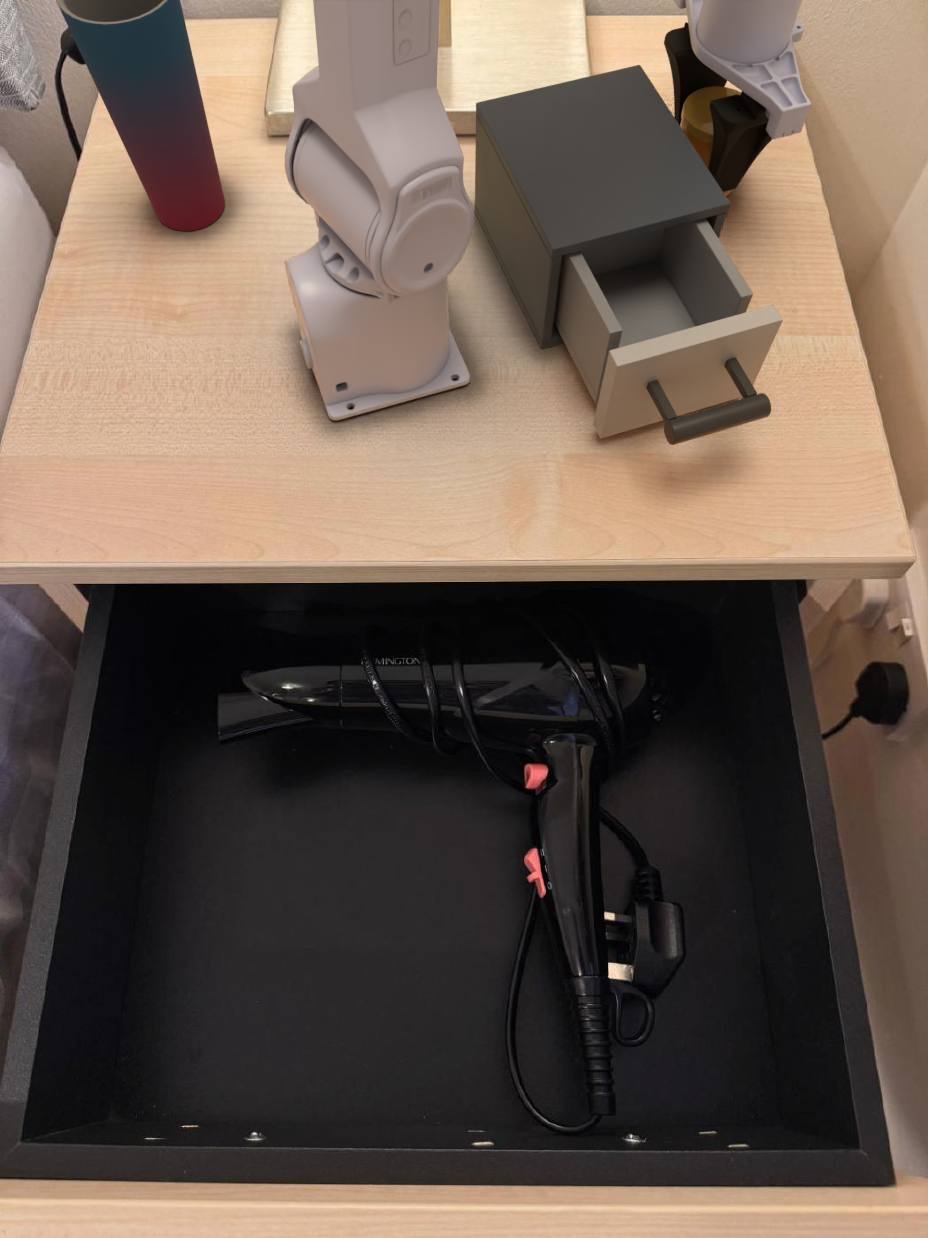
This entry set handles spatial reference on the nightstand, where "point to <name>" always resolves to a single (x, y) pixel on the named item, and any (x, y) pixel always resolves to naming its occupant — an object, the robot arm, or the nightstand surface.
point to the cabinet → (582, 179)
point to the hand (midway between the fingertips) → (705, 163)
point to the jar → (702, 119)
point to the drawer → (665, 333)
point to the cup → (152, 101)
